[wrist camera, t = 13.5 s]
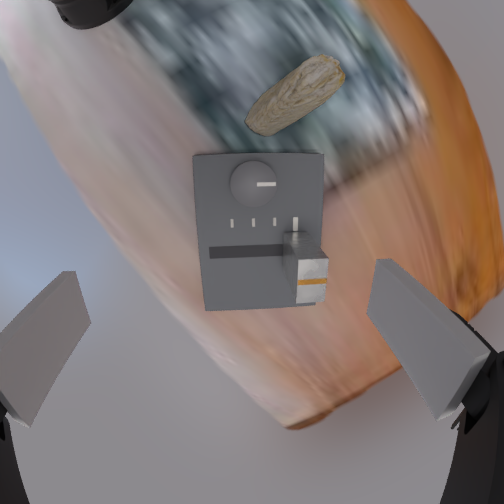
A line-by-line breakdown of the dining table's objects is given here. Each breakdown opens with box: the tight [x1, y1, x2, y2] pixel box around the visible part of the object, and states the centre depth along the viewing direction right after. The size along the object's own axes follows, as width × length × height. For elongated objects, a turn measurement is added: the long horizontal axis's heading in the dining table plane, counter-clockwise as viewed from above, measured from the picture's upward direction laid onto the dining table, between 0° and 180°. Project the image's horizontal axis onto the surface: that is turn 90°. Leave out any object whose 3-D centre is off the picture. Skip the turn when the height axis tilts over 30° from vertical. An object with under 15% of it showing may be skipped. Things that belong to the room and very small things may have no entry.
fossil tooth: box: [245, 54, 345, 136], centre depth 30 cm, size 12×6×15 cm
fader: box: [283, 232, 329, 304], centre depth 36 cm, size 4×6×10 cm, turn 1°
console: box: [193, 153, 324, 311], centre depth 40 cm, size 18×24×5 cm
